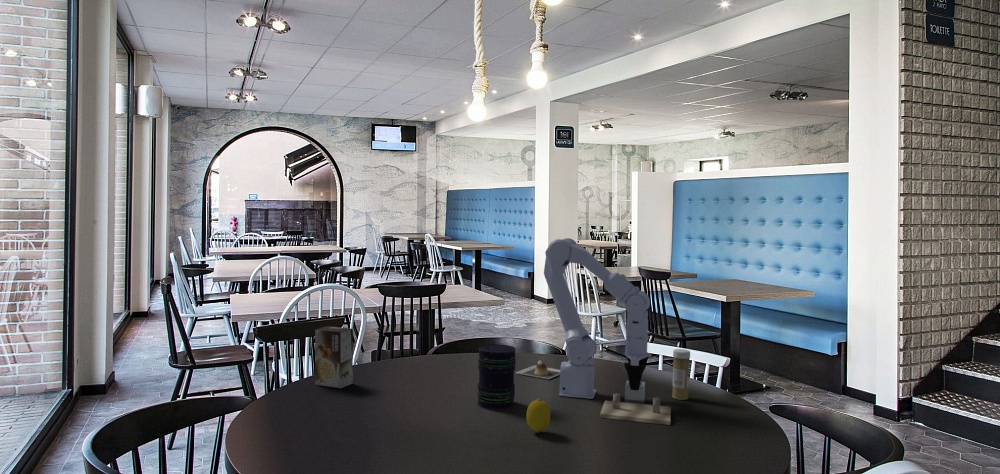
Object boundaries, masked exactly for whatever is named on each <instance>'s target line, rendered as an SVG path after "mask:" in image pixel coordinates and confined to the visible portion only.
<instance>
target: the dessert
mask: <svg viewBox="0 0 1000 474" xmlns="http://www.w3.org/2000/svg"><path fill="white" fill-rule="evenodd" d="M533 370H534V375H533V374H528V373H527V372H530V371H533ZM549 371H550V372H553V373H554V372H556V373H558V374H555V375H553V376H551V377H543V376H547V375H549ZM515 374H517V375H520V376H521V375H522V376H527V377H531V378H538V379H543V380H551V379H553V378H555V377H558V376H560V369H558V368H553V367H548V365H547V364H546V362H544V361H542V360H541V359H540V360H539V361H537V364H536V365H532V366H529V367H527V368H524V369H521V370H519V371H515Z"/></svg>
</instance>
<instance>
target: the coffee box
mask: <svg viewBox="0 0 1000 474" xmlns="http://www.w3.org/2000/svg"><path fill="white" fill-rule="evenodd" d="M314 338H315V339H314V340H315V342H314V343H315V345H314V348H315V351H314V352H315V353H314V356H315V359H314V361H315V363H314V364H315V365H314V368H315V369H314V370H315V371H314V373H315V374H314V375H315V378H314V379H315V380H314V381H315V382H314V385H316V386H320V387H321V386H322V387H328V388H338V389H343V388H345V387H347V386H350V385H352V384H353V383H354V382H353V381H354V380H353V377H354V376H353V373H354V372H353V371H354V370H353V369H354V368H353V361H354V360H353V359H354V357H353V355H354V353H353V352H354V351H353V350H354V328H349V327H340V326H330V325H327V326H323V327H320V328H317V329H315V333H314Z"/></svg>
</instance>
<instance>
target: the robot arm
mask: <svg viewBox="0 0 1000 474" xmlns="http://www.w3.org/2000/svg"><path fill="white" fill-rule="evenodd" d="M544 252H545V253H544V254H545V259H544V260H545V261H544V262H545V263H544V268H543V275H544V278H545V281H546V284H547V286H548V289H549V291H550V294H551V298H552V299H553V302H554V305H555V308H556V310H557V313H558V316H559V318H560V319H559V320H560V321H561V323H562V327H563V329H564V332H565V336H564V337H565V341H564V342H565V343H566V356H567V359H568V361H562V362H561V365H560V369H559V370H560V372H559V374H560V375H559V391H558V392H559V394H558V396H560V397H570V398H581V399H588V400H589V399H590V400H591V399H594V398H595V395H596V393H597V390H596V389H595V388H594V387H595V385H594V384H595V383H594V382H595V360H594V358H593V357H594V356H595V355H596V352H597V350H598V347H597V343H596V342H595V340H594V339H593V338H592V337H591V336H590V334H589V331H588V330H587V328H586V327H584V325H583V322H582V320H581V318H580V315H579V313H578V309H577V307H576V305H575V302H574V299H573V296H572V294H571V291H570V288H569V286H568V283H567V281H566V278H565V275H564V274H565V271H566V270H567V268H568V266H569V264H579V265H581V266H583V267H584V268H585V269H587V270H588V271H589V272H590V273H592V274H593V275H594V276H596V277H597V278H598V279H600V280H601V282H603V287H604V290H605V291H607V292H608V293H609V294H610V295H612V296H613V297H614V298H615V299H616V300H617V301H619V302H620V303H621V304H623V305H624V308H625V311H626V313H627V314H626V326H625V327H626V329H625V330H626V331H625V351H624V355H625V357H626V359H627V362H624V363H623V366H624V368H625V370H626V373H627V376H628V381H629V385H630V389H631V390H639V387H640V382H642V376H643V374H644V372H645V369H646V367H647V365H646V362H647V361H648V357H649V358H651V357H652V355H653V354H652V352H648V340H649V339H648V336H649V335H648V334H649V319H648V317H649V314H648V313H649V312H648V311H649V310H648V309H649V307H650V306H651V300H650V297H649V295H648V294H647V293H646V291H643V290H640V287H639V286H635V285H633V283H631V282H630V281H629V280H628V279H626V278H627V276H626V275H625V274H623V273H622V274H620V273H619V272H611V271H610V270H608V269H607V268H606V267H605V266H604V264H602V263H601V262H600V261H599V260H598V259H597V258H596V257H595V256H593V255H592V254H591V253H590V252H589V251H588V250H587V249H586V248H585V247H584V246H582V245H581V244H579V243H577V242H576V241H575V240H574V239H572V238H563V239H562V238H561V239H560V238H559V239H554V240H553V241H551V242H550V243H549V245H548V247H547V248H546V250H545V251H544Z"/></svg>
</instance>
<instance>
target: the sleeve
mask: <svg viewBox="0 0 1000 474" xmlns="http://www.w3.org/2000/svg"><path fill="white" fill-rule="evenodd" d="M645 386H646V382H645V381H641V382H640V387H639V390H631V389H630V385H629V380H626V381H625V385H624V402H626V403H636V404H645V391H646V390H645V389H646V387H645Z"/></svg>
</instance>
